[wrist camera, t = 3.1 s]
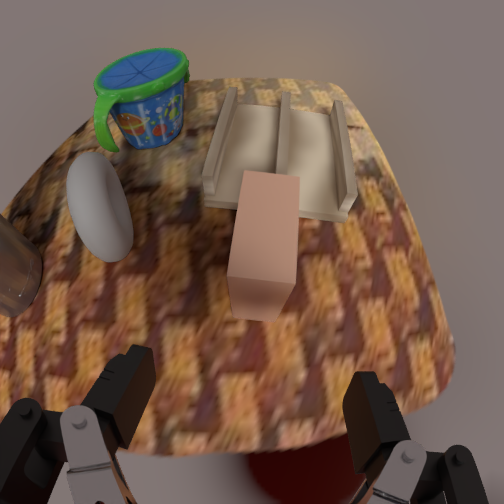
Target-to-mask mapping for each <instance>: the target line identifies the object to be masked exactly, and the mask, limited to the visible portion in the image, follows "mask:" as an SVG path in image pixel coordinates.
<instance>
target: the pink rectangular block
mask: <svg viewBox="0 0 504 504" xmlns="http://www.w3.org/2000/svg"><path fill="white" fill-rule="evenodd" d="M299 191H300V177H297V176H290V175H282V174H274V173H265V172H256V171H246V170H244V173H243V179H242V185H241V191H240V197H239V202H238V208H237V214H236V220H235V226H234V233H233V239H232V245H231V251H230V258H229V264H228V270H227V282H228V288H229V295H230V302H231V308H232V315H233V318H240V319H249V320H257V321H267V322H275V321H276V319H277V317H278V315H279V314H280V312H281V310H282V308H283V306H284V304H285V303H286V301H287V299H288V297H289V295H290V293H291V291H292V290H293V288H294V286H295V284H296V268H297V248H298V224H299Z"/></svg>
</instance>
